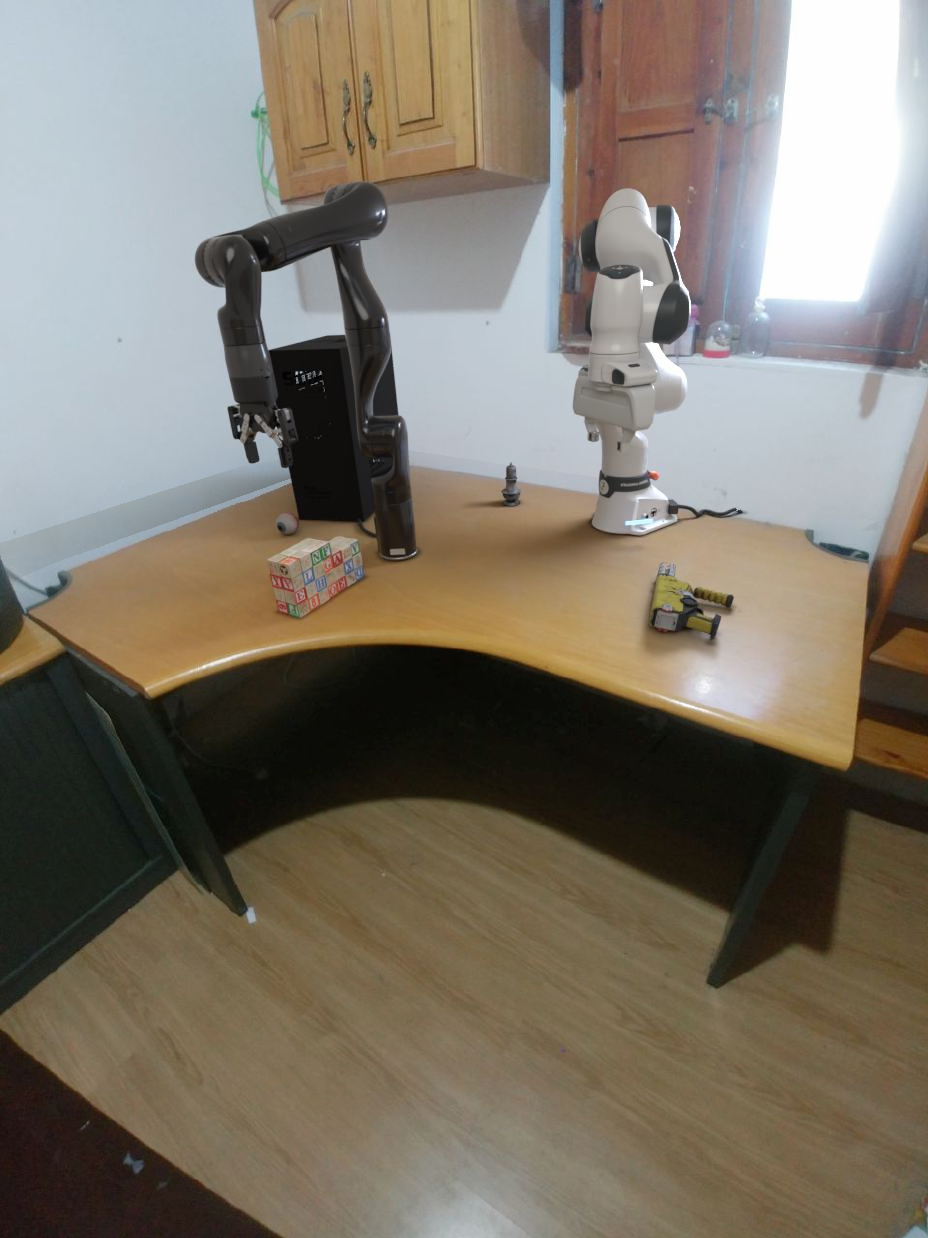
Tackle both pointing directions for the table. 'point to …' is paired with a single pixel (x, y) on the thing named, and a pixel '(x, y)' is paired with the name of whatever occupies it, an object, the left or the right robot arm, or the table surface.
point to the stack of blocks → (314, 573)
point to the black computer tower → (329, 428)
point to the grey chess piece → (511, 487)
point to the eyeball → (287, 523)
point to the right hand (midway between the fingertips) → (607, 445)
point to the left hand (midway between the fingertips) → (270, 464)
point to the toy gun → (683, 604)
